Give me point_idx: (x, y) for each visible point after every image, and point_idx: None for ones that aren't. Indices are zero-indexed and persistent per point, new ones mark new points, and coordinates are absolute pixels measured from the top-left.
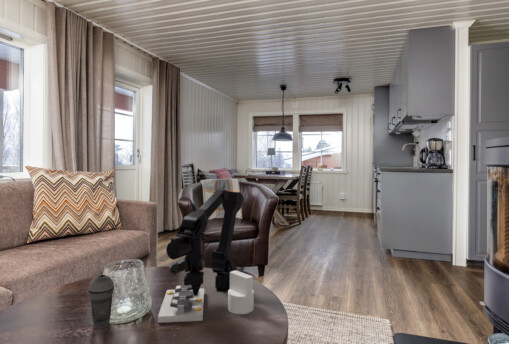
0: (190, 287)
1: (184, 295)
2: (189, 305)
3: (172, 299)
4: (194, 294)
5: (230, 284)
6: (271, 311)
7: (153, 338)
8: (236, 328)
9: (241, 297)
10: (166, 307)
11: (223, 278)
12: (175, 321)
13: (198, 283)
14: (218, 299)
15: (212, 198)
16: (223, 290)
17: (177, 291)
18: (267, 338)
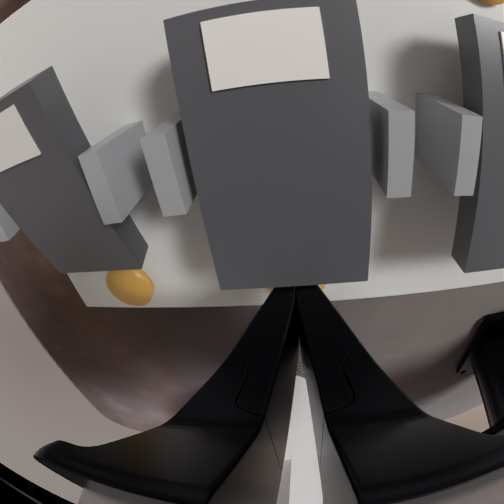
0: (472, 232)
1: (225, 183)
2: (70, 257)
3: (9, 103)
4: (276, 288)
5: (283, 486)
6: None
7: None
8: (105, 374)
9: None
10: (108, 3)
11: (497, 400)
12: None
13: (4, 472)
14: (382, 335)
15: None
16: (472, 344)
17: (464, 48)
18: (97, 407)
